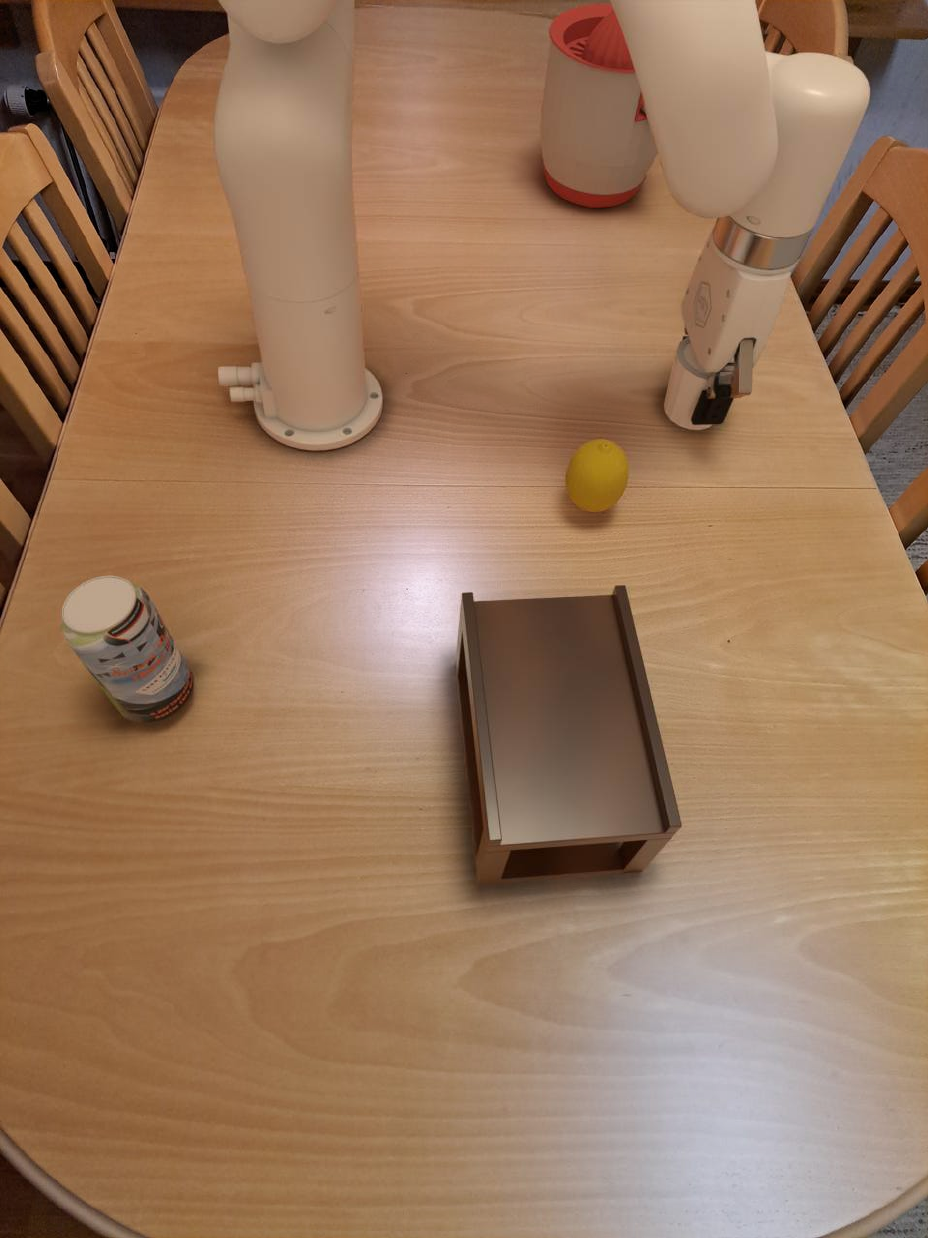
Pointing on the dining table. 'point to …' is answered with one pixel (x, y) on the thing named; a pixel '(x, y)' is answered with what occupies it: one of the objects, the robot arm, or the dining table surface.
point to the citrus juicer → (593, 111)
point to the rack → (560, 739)
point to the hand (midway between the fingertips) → (697, 394)
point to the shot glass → (687, 386)
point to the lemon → (597, 475)
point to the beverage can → (127, 648)
